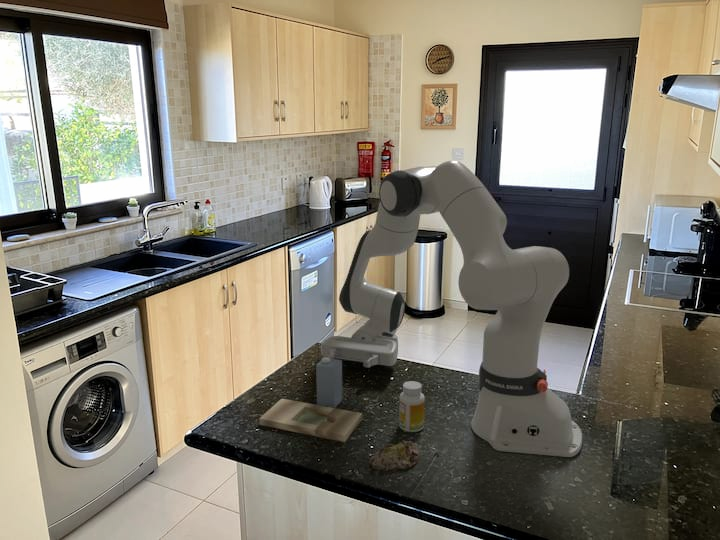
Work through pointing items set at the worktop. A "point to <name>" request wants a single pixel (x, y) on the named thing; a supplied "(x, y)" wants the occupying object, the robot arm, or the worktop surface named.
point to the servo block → (329, 382)
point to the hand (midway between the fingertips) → (348, 362)
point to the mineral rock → (395, 456)
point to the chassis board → (311, 419)
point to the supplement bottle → (411, 407)
